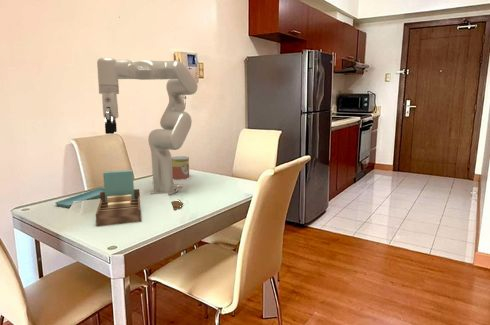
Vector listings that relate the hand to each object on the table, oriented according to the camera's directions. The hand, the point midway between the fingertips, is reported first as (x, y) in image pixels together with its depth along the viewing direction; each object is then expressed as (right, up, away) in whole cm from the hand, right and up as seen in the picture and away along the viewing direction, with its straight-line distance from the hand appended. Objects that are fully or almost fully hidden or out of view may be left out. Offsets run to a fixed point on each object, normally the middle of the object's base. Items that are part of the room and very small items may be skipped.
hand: (111, 132), depth 142 cm
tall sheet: (+4, -32, -1) cm, 32 cm away
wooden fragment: (+22, -32, +6) cm, 40 cm away
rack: (+6, -34, -7) cm, 36 cm away
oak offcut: (+6, -32, -5) cm, 33 cm away
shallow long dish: (-19, -30, +20) cm, 41 cm away
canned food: (+16, -21, +63) cm, 69 cm away
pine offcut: (+7, -33, -9) cm, 35 cm away
